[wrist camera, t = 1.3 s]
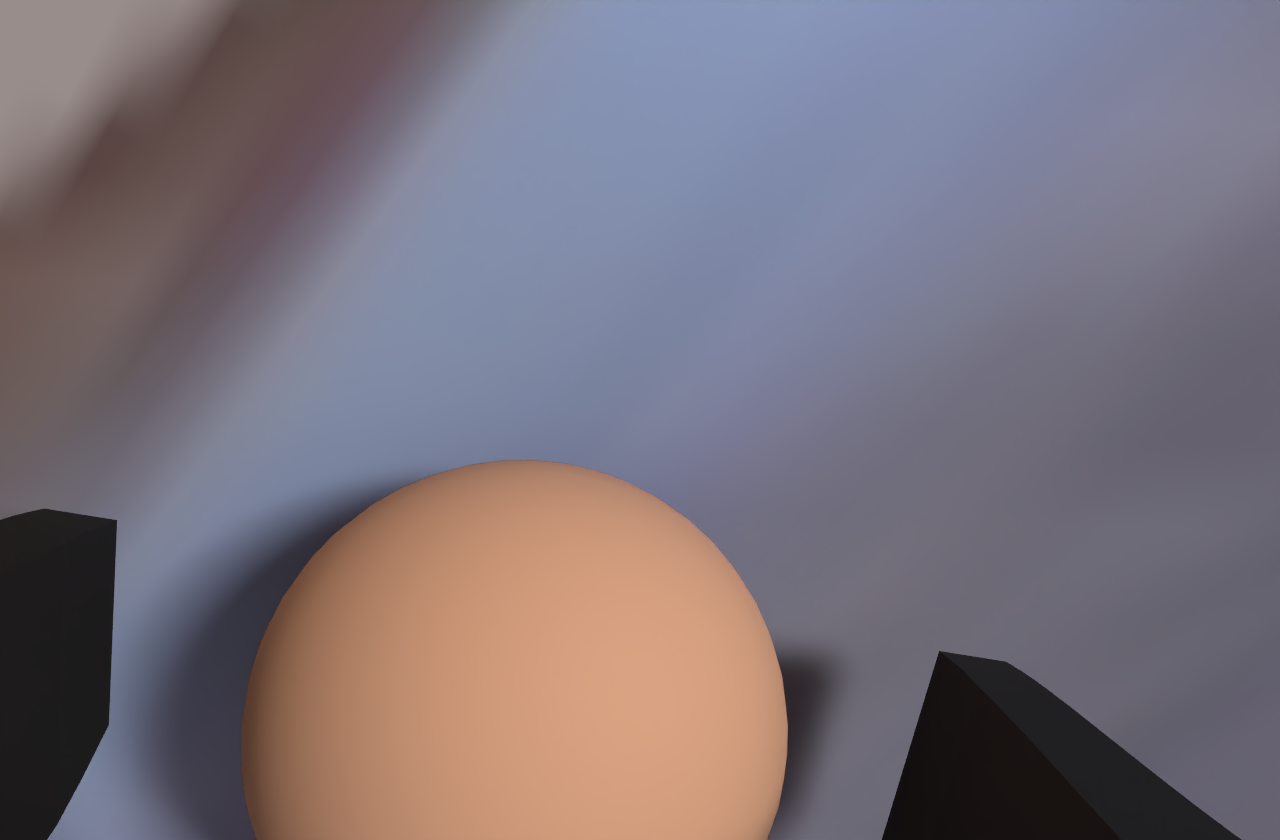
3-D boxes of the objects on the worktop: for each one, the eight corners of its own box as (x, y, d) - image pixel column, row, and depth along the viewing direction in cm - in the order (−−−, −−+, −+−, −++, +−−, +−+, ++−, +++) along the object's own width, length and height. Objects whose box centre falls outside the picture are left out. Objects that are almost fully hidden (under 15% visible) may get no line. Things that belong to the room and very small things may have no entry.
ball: (803, 432, 11) (900, 685, 7) (710, 811, 13) (748, 1199, 9) (341, 353, 11) (168, 569, 7) (299, 749, 13) (137, 1121, 8)
